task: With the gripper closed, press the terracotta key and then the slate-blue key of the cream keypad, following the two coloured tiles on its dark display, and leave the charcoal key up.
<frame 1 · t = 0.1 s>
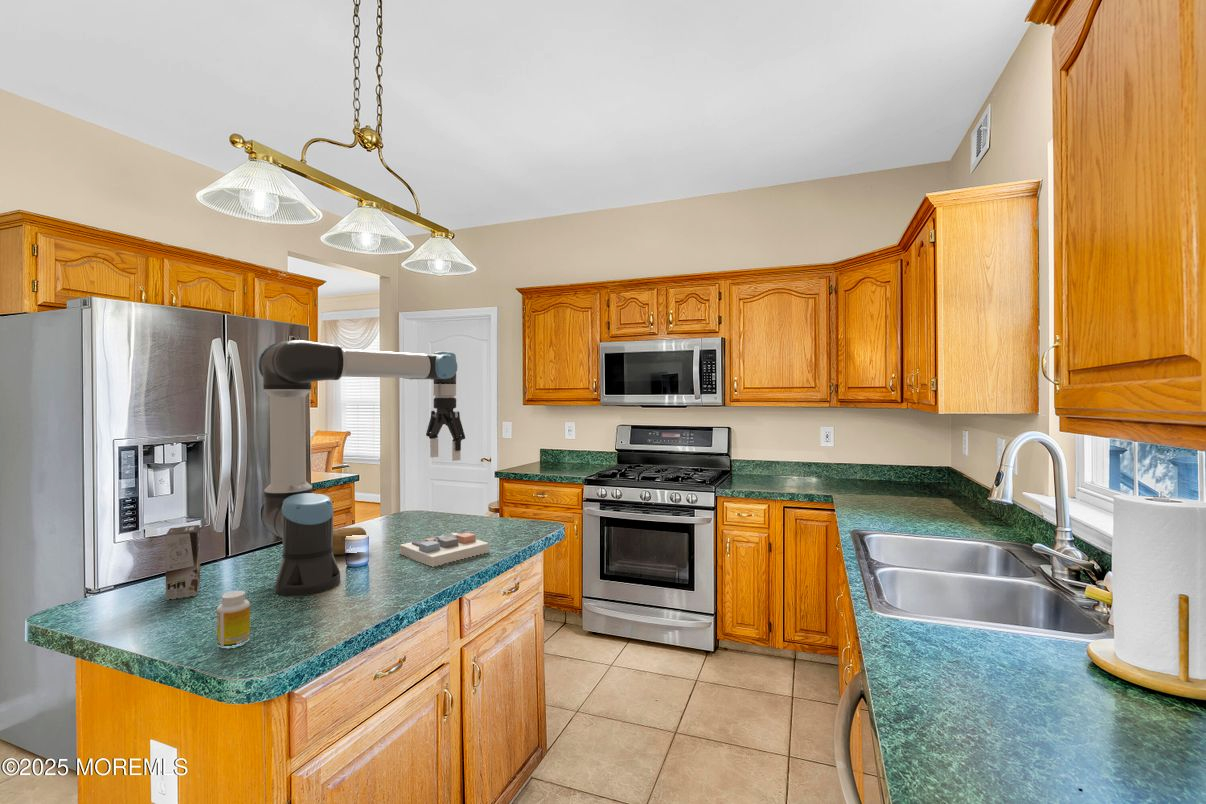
hand: (445, 458, 189), 28 cm above the countertop, tool pointing down, fingers open, 13 cm apart
key slate: (429, 547, 167), point 4 cm above the countertop, slide at 0.0 cm
potato: (342, 554, 172), on the countertop
coffee box: (183, 593, 139), on the countertop
key terracotta: (465, 539, 177), point 4 cm above the countertop, slide at 0.0 cm
keypad: (444, 553, 173), on the countertop
key charcoal: (448, 543, 172), point 4 cm above the countertop, slide at 0.0 cm
supplement bottle: (233, 645, 111), on the countertop
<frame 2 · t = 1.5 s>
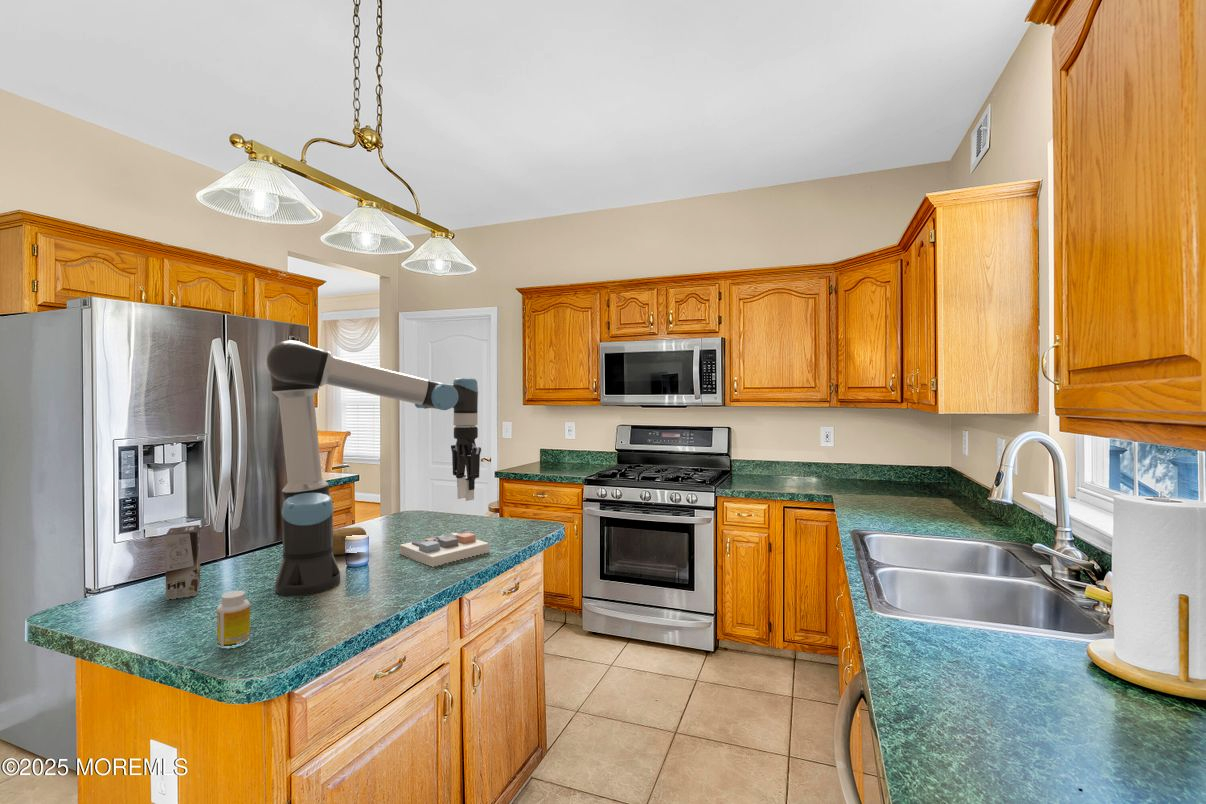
hand: (465, 498, 177), 17 cm above the countertop, tool pointing down, fingers open, 4 cm apart
nothing on the countertop moved.
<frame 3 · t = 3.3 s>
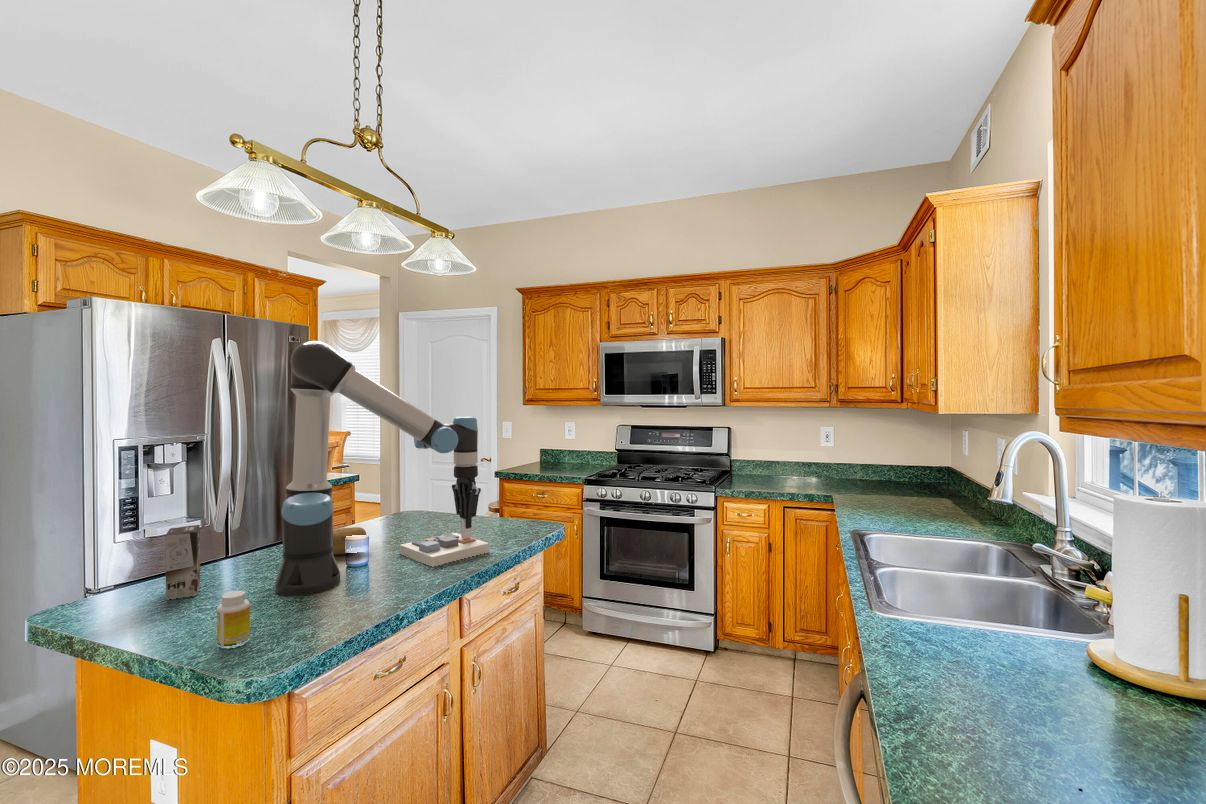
hand: (466, 537, 177), 4 cm above the countertop, tool pointing down, fingers closed
key terracotta: (465, 543, 177), point 2 cm above the countertop, slide at 1.3 cm, touching gripper
everything else where it was.
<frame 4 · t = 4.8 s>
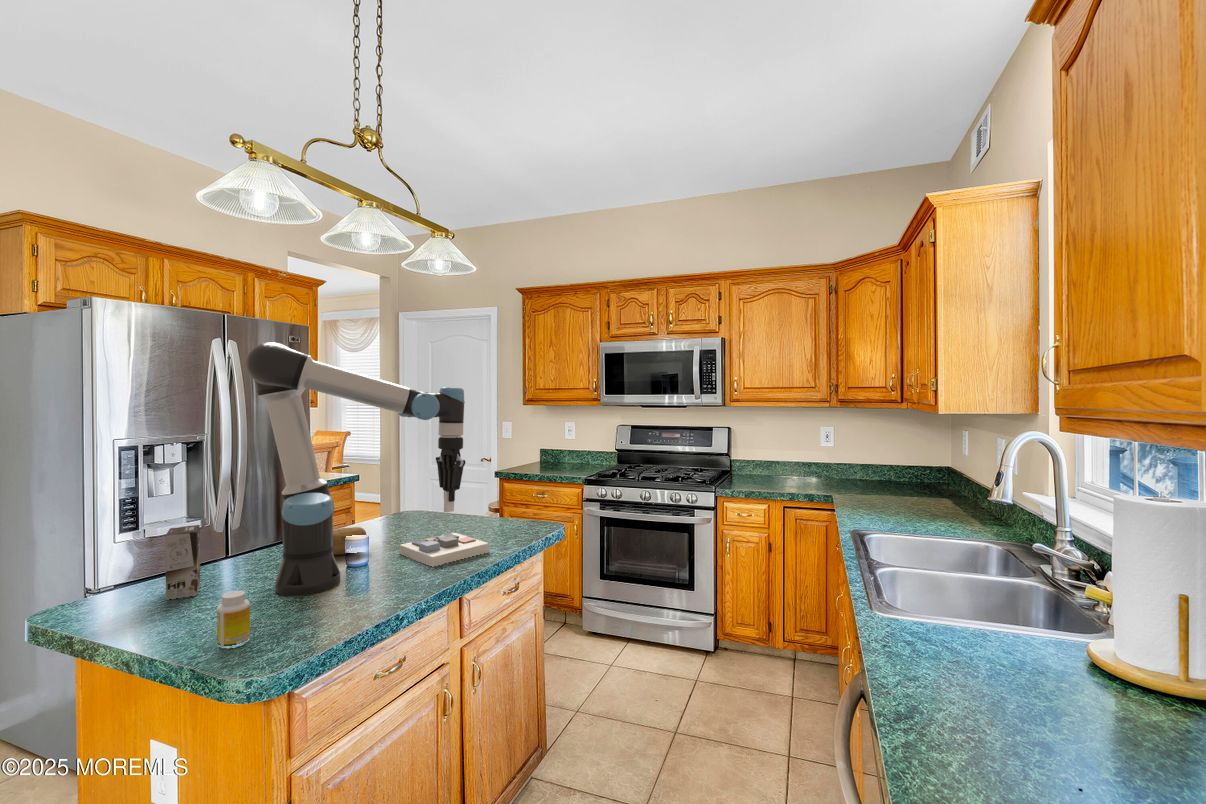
hand: (448, 511, 173), 13 cm above the countertop, tool pointing down, fingers closed
key terracotta: (465, 544, 177), point 2 cm above the countertop, slide at 1.5 cm
everything else where it was.
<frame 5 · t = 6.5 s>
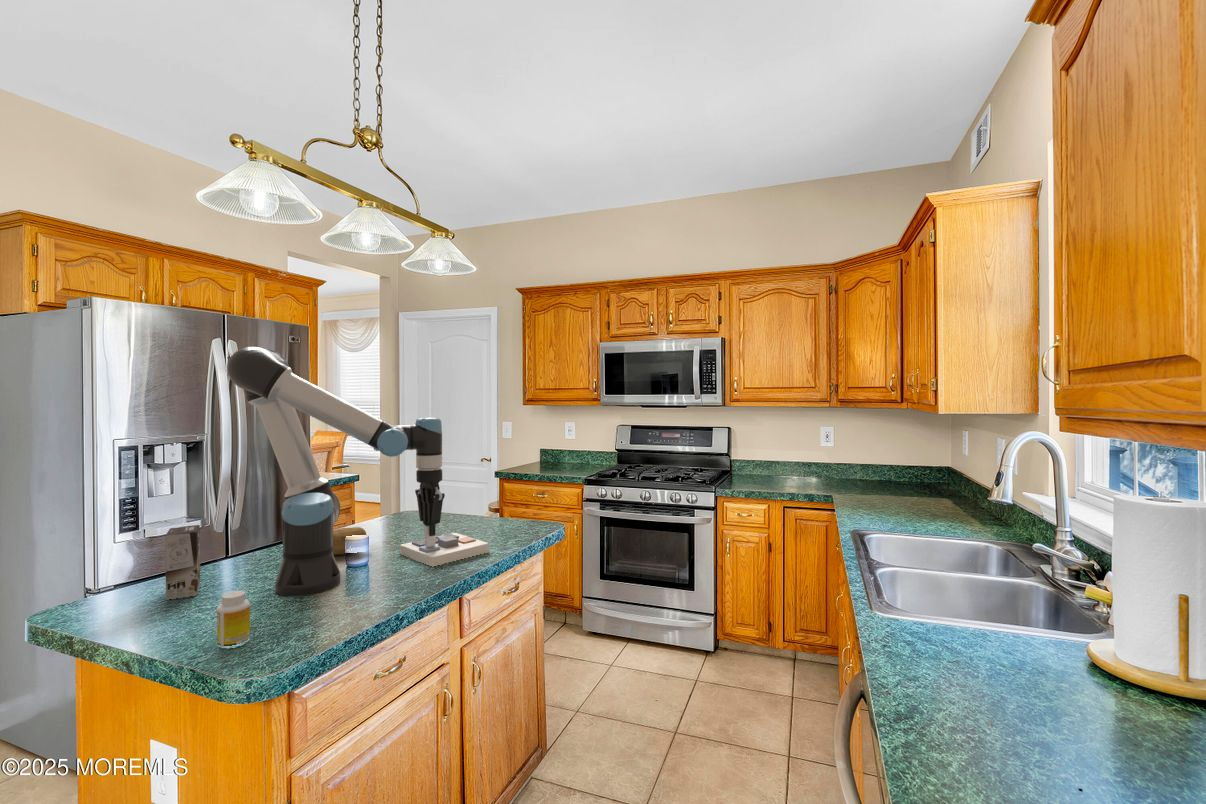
hand: (430, 545, 167), 4 cm above the countertop, tool pointing down, fingers closed
key slate: (429, 551, 167), point 2 cm above the countertop, slide at 1.2 cm, touching gripper
everything else where it was.
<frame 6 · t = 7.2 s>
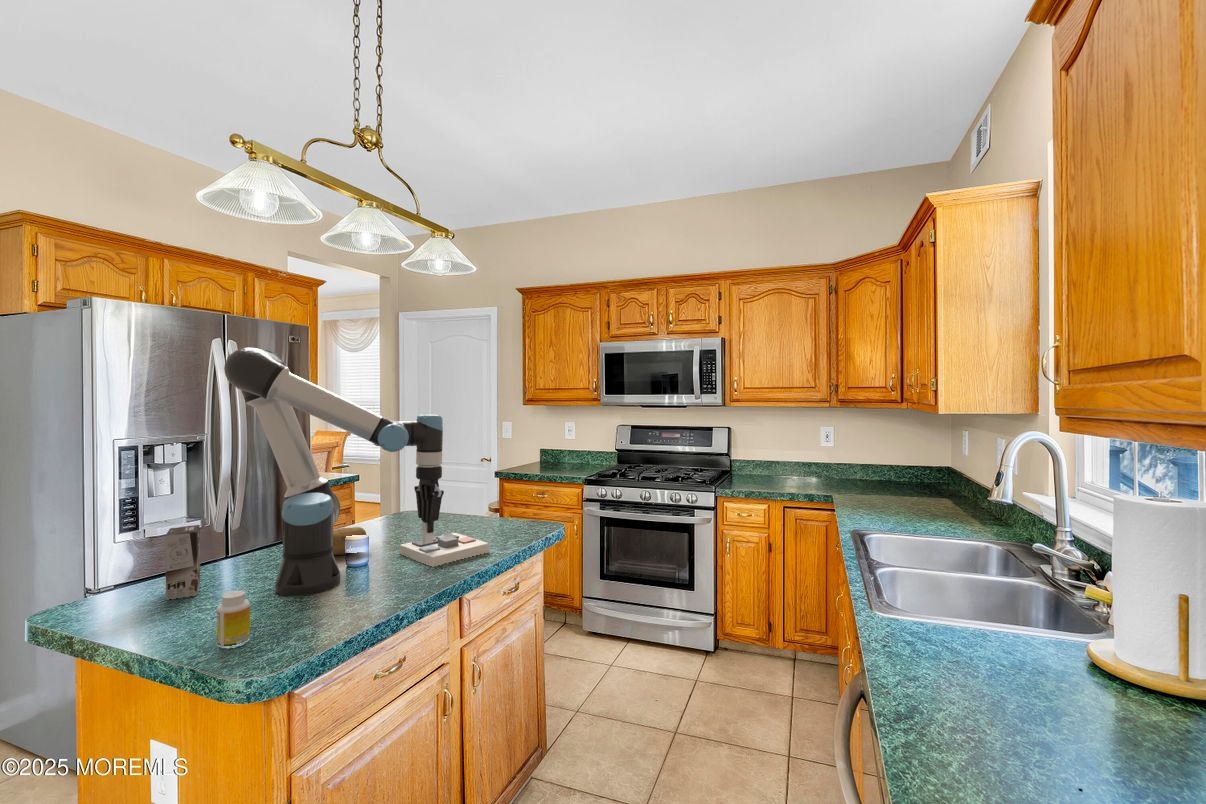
hand: (427, 542, 167), 5 cm above the countertop, tool pointing down, fingers closed
key slate: (429, 552, 167), point 2 cm above the countertop, slide at 1.5 cm
everything else where it was.
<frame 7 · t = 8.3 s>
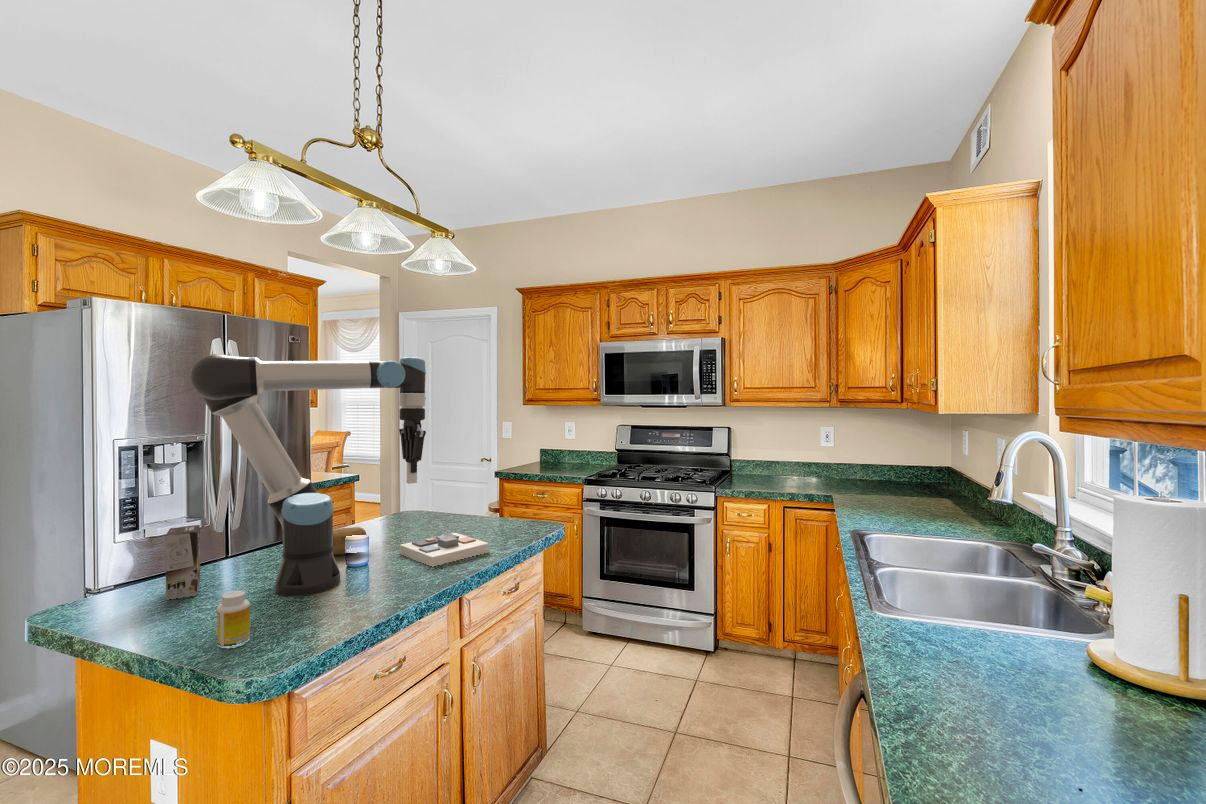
hand: (411, 482, 171), 23 cm above the countertop, tool pointing down, fingers closed
nothing on the countertop moved.
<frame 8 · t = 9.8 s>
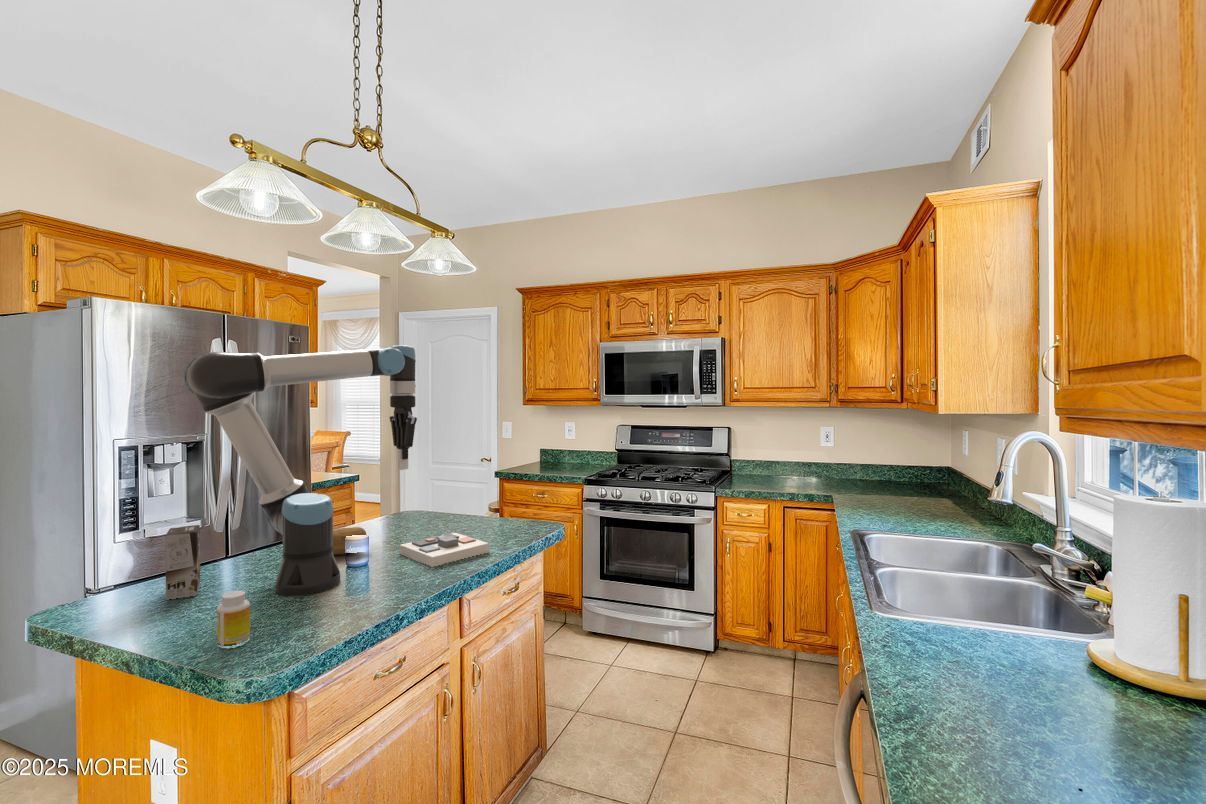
hand: (403, 469, 174), 26 cm above the countertop, tool pointing down, fingers closed
nothing on the countertop moved.
at the end: key terracotta slide at 1.5 cm; key slate slide at 1.5 cm; key charcoal slide at 0.0 cm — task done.
